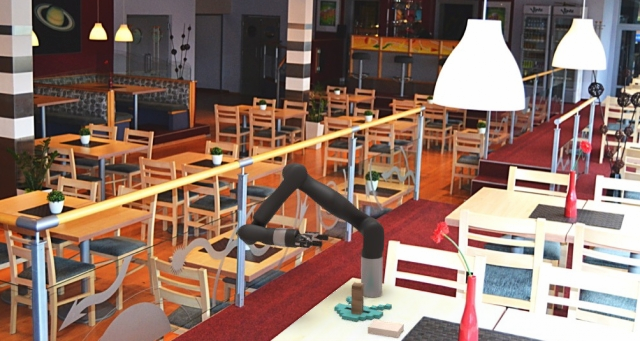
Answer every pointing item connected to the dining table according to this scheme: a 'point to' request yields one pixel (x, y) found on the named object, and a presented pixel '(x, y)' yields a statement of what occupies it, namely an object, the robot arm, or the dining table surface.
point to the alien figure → (367, 313)
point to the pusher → (357, 298)
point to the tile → (385, 328)
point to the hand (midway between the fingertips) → (325, 240)
